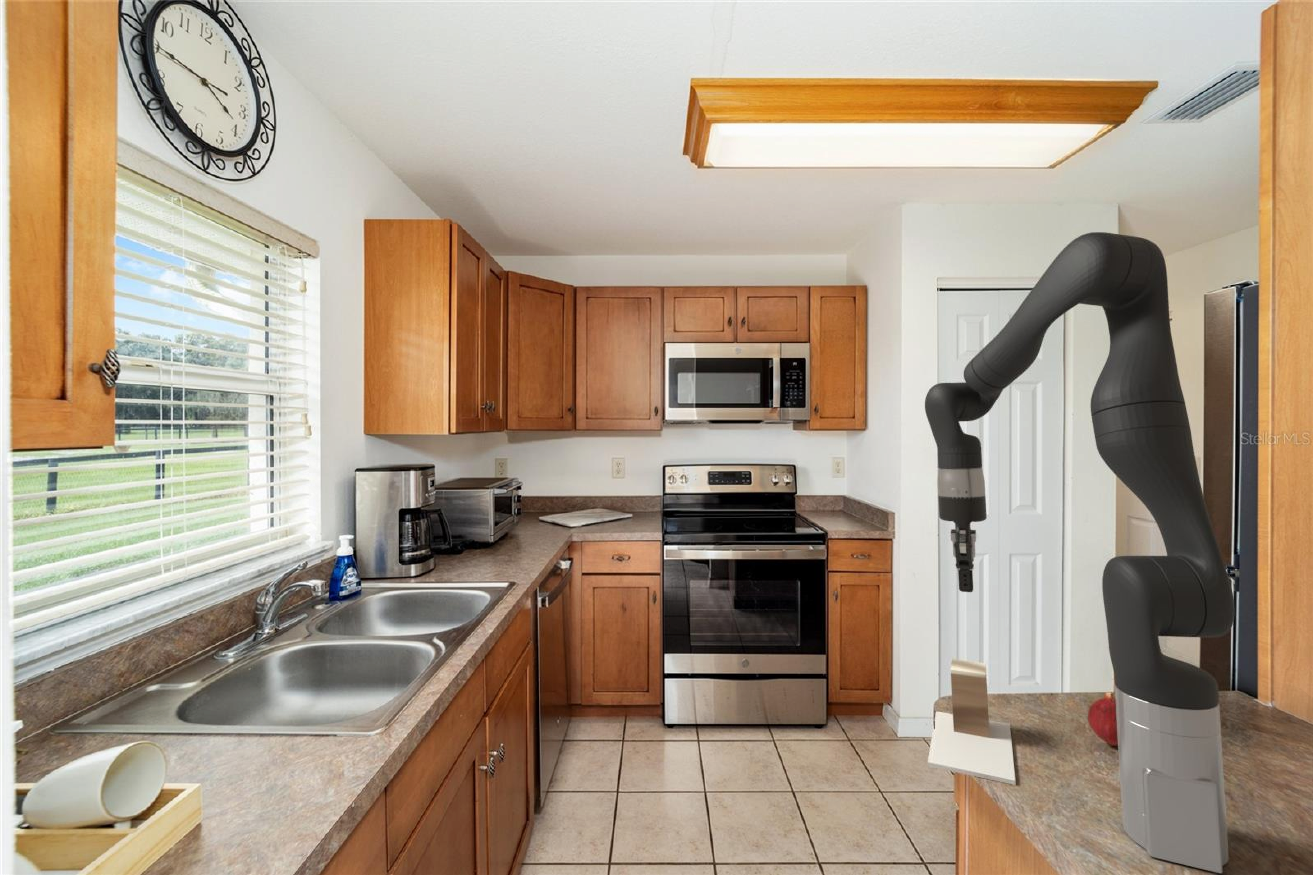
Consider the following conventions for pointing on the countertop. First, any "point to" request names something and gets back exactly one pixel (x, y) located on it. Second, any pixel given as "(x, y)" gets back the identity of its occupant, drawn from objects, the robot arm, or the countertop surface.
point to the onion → (1104, 719)
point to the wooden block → (969, 698)
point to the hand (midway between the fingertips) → (966, 590)
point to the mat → (972, 750)
